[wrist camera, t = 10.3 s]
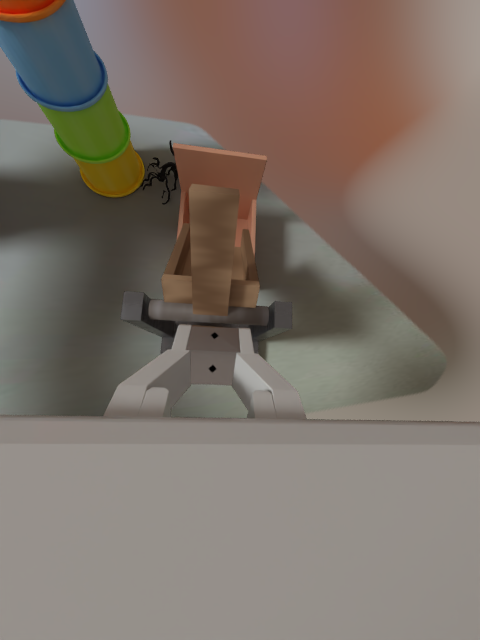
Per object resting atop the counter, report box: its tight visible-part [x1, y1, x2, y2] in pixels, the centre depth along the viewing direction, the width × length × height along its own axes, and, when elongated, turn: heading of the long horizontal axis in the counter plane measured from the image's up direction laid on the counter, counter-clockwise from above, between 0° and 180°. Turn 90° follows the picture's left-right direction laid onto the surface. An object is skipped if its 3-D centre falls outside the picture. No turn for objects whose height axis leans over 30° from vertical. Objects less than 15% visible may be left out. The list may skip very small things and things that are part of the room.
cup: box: [173, 143, 267, 258], centre depth 32 cm, size 11×13×13 cm
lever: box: [149, 184, 269, 326], centre depth 22 cm, size 10×14×11 cm
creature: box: [141, 141, 179, 204], centre depth 37 cm, size 8×5×8 cm
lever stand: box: [121, 291, 292, 354], centre depth 28 cm, size 15×8×17 cm, turn 88°
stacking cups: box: [0, 0, 145, 198], centre depth 22 cm, size 10×10×35 cm
